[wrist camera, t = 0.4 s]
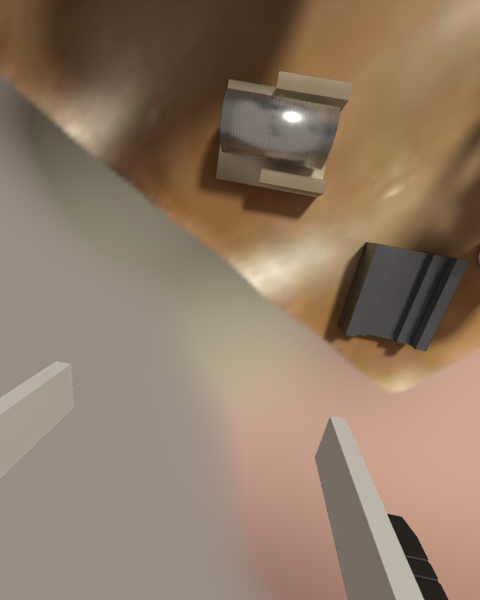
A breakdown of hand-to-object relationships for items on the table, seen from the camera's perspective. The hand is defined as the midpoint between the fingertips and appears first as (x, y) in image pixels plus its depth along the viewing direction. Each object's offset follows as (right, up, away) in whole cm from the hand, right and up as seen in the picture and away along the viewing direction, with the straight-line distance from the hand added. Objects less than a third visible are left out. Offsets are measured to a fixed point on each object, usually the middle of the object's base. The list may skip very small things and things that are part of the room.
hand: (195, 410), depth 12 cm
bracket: (+7, +26, +18) cm, 33 cm away
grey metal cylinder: (+7, +26, +18) cm, 32 cm away
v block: (+25, +7, +23) cm, 34 cm away
